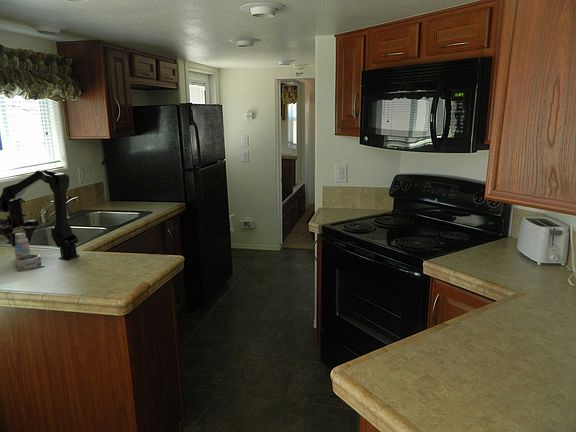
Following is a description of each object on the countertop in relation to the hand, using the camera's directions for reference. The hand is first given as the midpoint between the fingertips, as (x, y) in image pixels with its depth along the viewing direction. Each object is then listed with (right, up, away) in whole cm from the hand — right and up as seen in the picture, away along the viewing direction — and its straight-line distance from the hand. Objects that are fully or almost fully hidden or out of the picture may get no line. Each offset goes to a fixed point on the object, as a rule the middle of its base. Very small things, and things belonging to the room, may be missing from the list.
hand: (21, 244), depth 203 cm
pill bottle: (0, -6, +1) cm, 6 cm away
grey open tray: (+11, -8, -12) cm, 18 cm away
